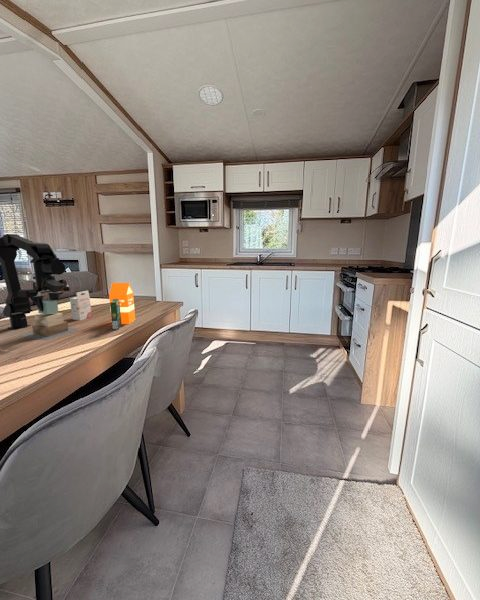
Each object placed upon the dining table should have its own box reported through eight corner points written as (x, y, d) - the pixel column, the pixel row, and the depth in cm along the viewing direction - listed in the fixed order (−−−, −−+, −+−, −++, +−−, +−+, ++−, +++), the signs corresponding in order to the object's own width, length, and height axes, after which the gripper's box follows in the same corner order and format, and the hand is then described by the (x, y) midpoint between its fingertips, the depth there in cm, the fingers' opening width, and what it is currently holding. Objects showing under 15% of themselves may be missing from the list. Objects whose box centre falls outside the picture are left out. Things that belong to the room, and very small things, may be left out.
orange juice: (129, 324, 132) (125, 283, 128) (111, 324, 132) (107, 283, 128) (135, 320, 139) (132, 281, 136) (118, 319, 140) (115, 281, 136)
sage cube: (38, 313, 114) (37, 301, 113) (50, 310, 119) (48, 299, 118) (47, 314, 113) (45, 302, 112) (58, 311, 117) (57, 300, 116)
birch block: (36, 325, 114) (34, 316, 114) (51, 321, 121) (50, 312, 120) (48, 326, 112) (46, 317, 112) (63, 322, 119) (62, 313, 118)
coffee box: (118, 329, 123) (116, 301, 120) (112, 330, 122) (109, 302, 119) (122, 325, 130) (119, 298, 128) (115, 325, 130) (113, 298, 127)
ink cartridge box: (84, 316, 147) (81, 289, 144) (92, 316, 146) (89, 290, 143) (71, 320, 139) (68, 292, 136) (80, 320, 138) (76, 292, 135)
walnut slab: (33, 334, 114) (32, 325, 114) (53, 328, 123) (52, 320, 122) (49, 336, 112) (47, 327, 111) (68, 330, 120) (67, 321, 119)
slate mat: (19, 337, 112) (18, 336, 112) (55, 326, 127) (55, 325, 127) (47, 341, 108) (46, 340, 107) (81, 329, 123) (81, 328, 122)
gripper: (34, 276, 101) (40, 316, 104) (77, 272, 119) (81, 306, 122) (13, 275, 105) (19, 314, 108) (58, 271, 122) (62, 305, 125)
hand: (48, 310), depth 115 cm, fingers closed on sage cube, 5 cm apart
